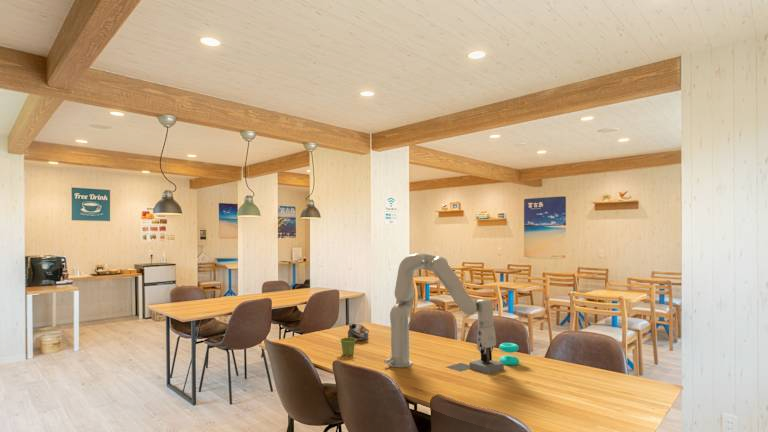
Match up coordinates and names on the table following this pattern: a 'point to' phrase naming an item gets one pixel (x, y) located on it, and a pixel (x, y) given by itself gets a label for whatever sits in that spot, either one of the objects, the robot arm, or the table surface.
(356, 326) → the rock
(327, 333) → the table surface
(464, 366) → the mat
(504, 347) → the donuts
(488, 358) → the dowel
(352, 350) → the plant pot
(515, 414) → the table surface
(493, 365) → the socket block
